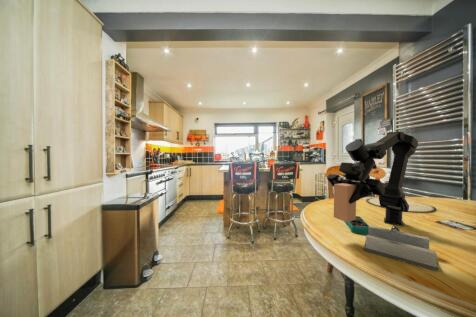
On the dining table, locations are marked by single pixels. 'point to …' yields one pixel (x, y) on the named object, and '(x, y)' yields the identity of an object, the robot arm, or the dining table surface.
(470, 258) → the dining table surface
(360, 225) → the digital multimeter
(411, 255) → the bench vise
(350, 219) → the terracotta block
